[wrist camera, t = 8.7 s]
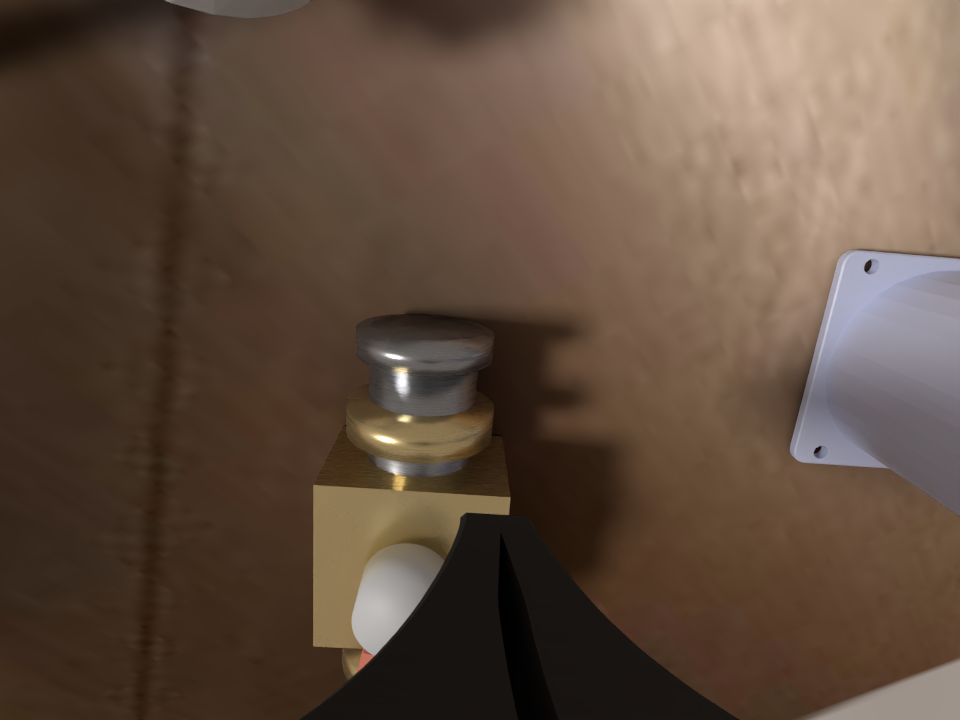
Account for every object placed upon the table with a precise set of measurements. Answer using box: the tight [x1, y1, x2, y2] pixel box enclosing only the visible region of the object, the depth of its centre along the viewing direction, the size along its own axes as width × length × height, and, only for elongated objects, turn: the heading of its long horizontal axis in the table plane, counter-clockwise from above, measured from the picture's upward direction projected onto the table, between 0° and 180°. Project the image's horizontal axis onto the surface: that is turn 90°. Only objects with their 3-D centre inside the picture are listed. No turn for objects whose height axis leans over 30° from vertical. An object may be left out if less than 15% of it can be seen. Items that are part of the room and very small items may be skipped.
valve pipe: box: [313, 314, 511, 680], centre depth 21 cm, size 15×6×5 cm, turn 175°
